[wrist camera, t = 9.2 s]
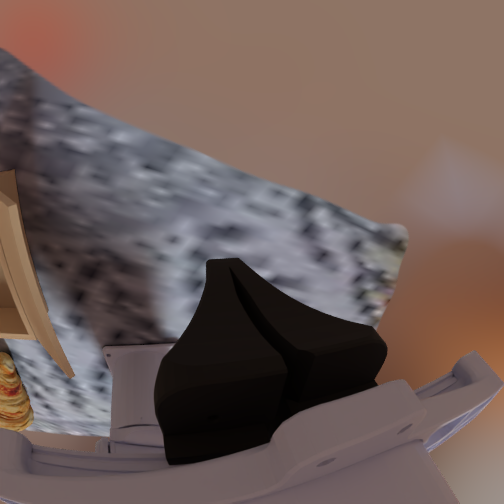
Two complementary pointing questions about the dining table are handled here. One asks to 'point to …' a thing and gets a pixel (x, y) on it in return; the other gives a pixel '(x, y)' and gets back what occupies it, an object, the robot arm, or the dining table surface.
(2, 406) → the croissant
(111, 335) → the dining table surface
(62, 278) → the dining table surface
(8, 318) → the carton
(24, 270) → the flap
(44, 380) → the dining table surface
